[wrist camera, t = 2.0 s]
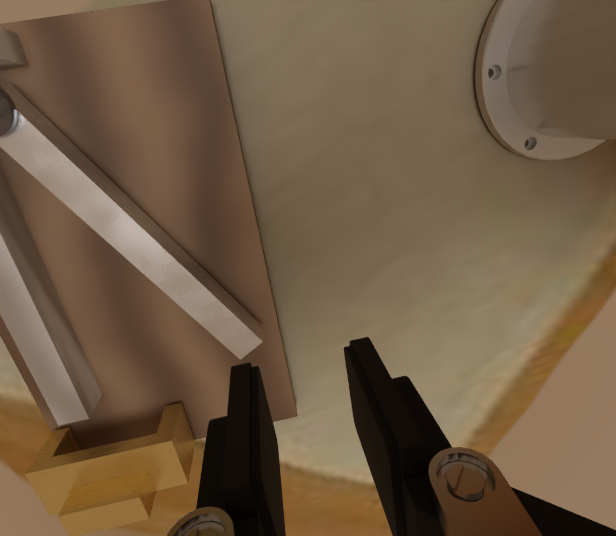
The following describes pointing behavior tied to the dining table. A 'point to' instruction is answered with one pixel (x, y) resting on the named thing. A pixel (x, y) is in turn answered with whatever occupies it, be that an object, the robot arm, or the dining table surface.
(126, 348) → the tongs board
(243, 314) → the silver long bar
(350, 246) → the dining table surface
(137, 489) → the pale yellow block
